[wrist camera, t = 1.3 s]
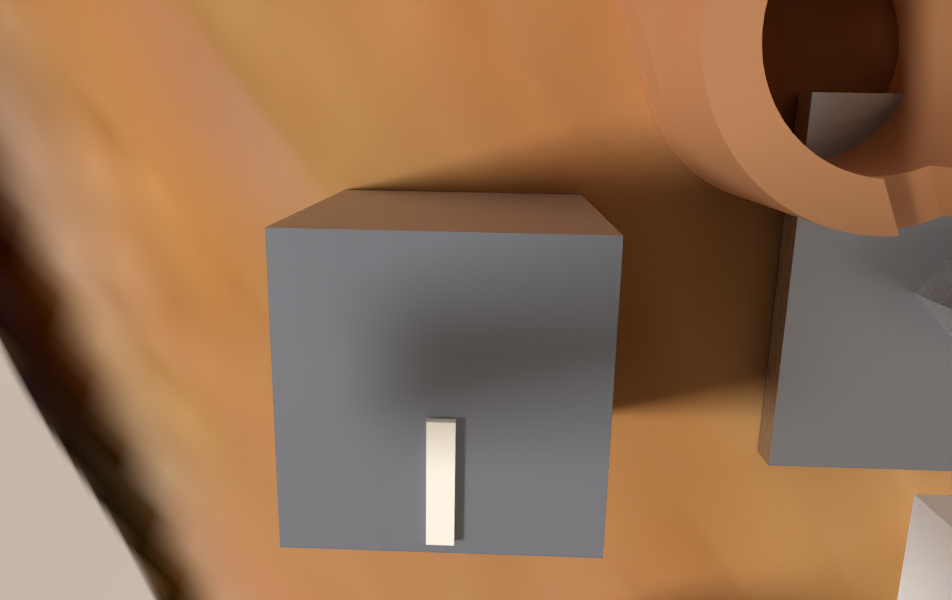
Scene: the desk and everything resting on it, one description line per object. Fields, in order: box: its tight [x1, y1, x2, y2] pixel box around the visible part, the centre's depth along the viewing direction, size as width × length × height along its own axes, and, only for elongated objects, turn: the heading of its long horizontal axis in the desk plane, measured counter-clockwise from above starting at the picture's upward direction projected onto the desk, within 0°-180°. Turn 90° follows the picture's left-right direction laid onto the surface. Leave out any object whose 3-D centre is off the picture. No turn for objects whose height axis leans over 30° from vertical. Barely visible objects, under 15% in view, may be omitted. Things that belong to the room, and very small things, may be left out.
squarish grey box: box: [265, 190, 623, 558], centre depth 20 cm, size 7×7×8 cm
